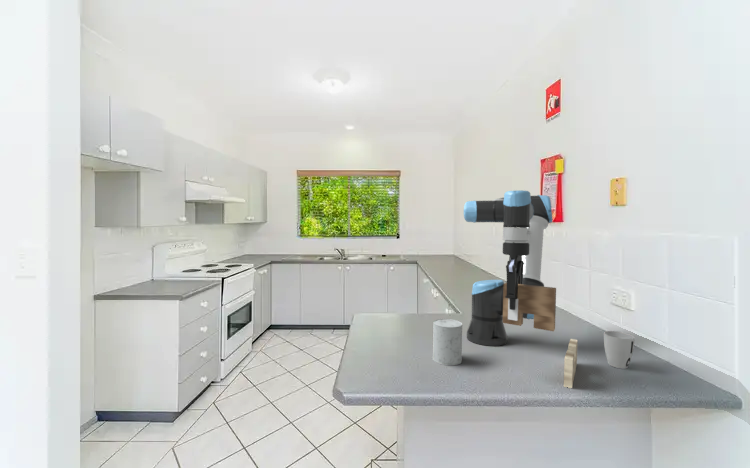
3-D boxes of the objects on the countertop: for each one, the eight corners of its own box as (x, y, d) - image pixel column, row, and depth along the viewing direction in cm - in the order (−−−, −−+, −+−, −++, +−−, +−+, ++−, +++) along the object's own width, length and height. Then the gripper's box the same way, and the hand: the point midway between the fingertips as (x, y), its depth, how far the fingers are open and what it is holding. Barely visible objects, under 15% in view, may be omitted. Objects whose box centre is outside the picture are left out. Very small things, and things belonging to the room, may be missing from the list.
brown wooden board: (502, 322, 104) (503, 284, 104) (505, 320, 107) (505, 282, 106) (553, 331, 96) (554, 289, 96) (555, 328, 99) (556, 287, 98)
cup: (635, 373, 104) (636, 340, 104) (603, 366, 108) (604, 335, 108) (632, 364, 111) (633, 333, 111) (602, 358, 115) (603, 329, 115)
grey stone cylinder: (462, 356, 116) (463, 320, 116) (460, 367, 107) (461, 328, 106) (434, 352, 119) (435, 317, 119) (430, 362, 110) (430, 325, 110)
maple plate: (571, 388, 94) (572, 359, 93) (563, 386, 95) (564, 358, 94) (576, 364, 110) (577, 340, 110) (569, 362, 111) (570, 338, 111)
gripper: (523, 243, 94) (521, 327, 95) (534, 241, 108) (532, 314, 108) (496, 242, 99) (494, 322, 99) (509, 240, 112) (507, 311, 113)
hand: (514, 318), depth 104 cm, fingers closed on brown wooden board, 3 cm apart
